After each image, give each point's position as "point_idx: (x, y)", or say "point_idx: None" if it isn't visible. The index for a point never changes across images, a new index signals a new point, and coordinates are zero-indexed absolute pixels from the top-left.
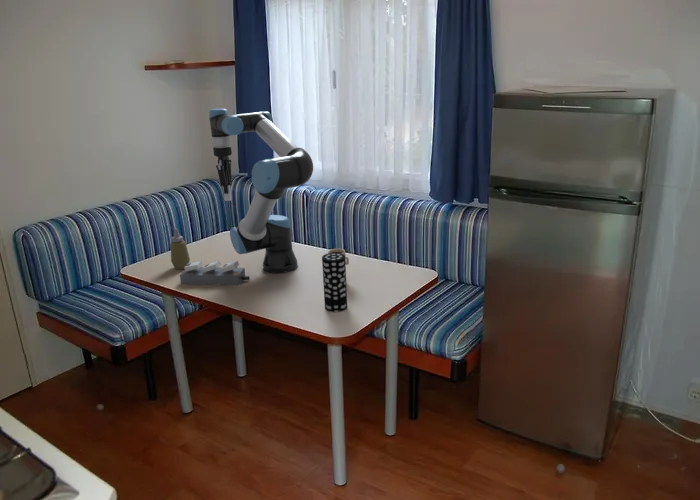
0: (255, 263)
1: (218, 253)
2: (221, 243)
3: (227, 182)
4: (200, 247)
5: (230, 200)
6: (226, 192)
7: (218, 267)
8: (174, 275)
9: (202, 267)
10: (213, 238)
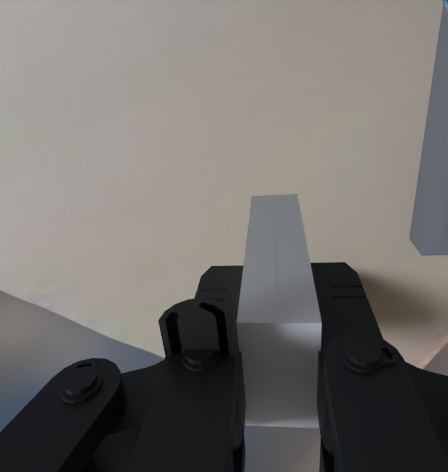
0: (268, 5)
1: (171, 222)
2: (69, 250)
3: (410, 422)
4: (126, 303)
5: (296, 196)
6: (358, 287)
7: (443, 126)
8: (400, 287)
9: (433, 198)
10: (32, 294)
